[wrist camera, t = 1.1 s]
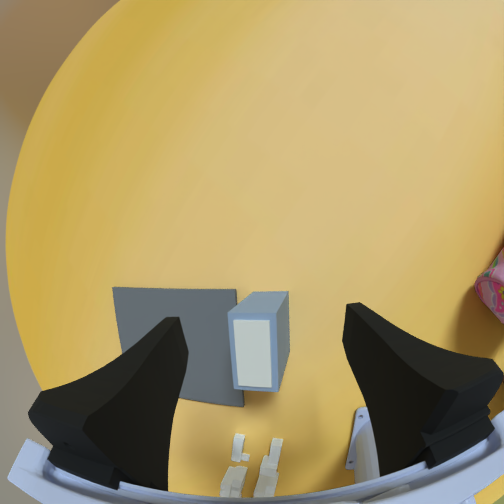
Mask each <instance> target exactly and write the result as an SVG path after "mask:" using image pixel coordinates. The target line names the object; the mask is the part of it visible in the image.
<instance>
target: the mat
mask: <svg viewBox="0 0 504 504" xmlns="http://www.w3.org/2000/svg"><path fill="white" fill-rule="evenodd" d="M112 289H113V297H114V305H115V313H116V320H117V326H118V332H119V338H120V343H121V348H122V354H123V353H124V352H125V351H127V350H128V349H129V348H130V347H132V346H133V345H134V344H135V343H137V342H138V341H139V340H140V339H141V338H142V337H144V336H145V335H146V334H147V333H148V332H149V331H150V330H152V329H153V328H154V327H155V326H156V325H157V324H158V323H159V322H161V321H162V320H163V319H164V318H165V317H179V318H180V322H181V325H182V329H183V333H184V336H185V340H186V344H187V347H188V351H189V355H188V363H187V369H186V374H185V377H184V381H183V384H182V388H181V391H180V395H179V398H184V399H190V400H195V401H201V402H208V403H214V404H222V405H230V406H238V407H244V392H243V390H240V389H234V384H233V374H232V362H231V351H230V338H229V326H228V312H229V311H230V310H231V309H233V308H234V307H235V306H236V305H237V294H236V289H163V288H129V287H112Z"/></svg>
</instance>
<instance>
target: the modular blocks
mask: <svg viewBox="0 0 504 504" xmlns="http://www.w3.org/2000/svg"><path fill="white" fill-rule="evenodd" d="M244 439H245V435H242V434H237V433H236V434H235V436H234V441H233V449H232V457H231V461H235V462H239V463H240V461H241V460H244V461H249V457H250V455H249V454H244V453H242V451H243V445H244ZM282 443H283V439H278V438H273V439H272V443H271V447H270V453H269V456H267V455H264V457H263V460H262V463H261V466H260V473H259V478H258V481H257V484H256V487H255V490H254V495H253V496H254V498H256V497H274V493H275V489H276V485H277V481H278V476H279V473H277V472H276V471H277V467H278V462H279V457H280V452H281V448H282ZM247 468H248V467H243V466H236V468H235V467H231V466H229V468H228V470H227V472H226V474H225V476H224V478H223V480H222V482H221V486H220V488H221V490H220V497H231V498H241V497H242V494H241V491H242V489H243V486H244V483H245V477H246V473H247Z"/></svg>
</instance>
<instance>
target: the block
mask: <svg viewBox="0 0 504 504" xmlns="http://www.w3.org/2000/svg"><path fill="white" fill-rule="evenodd" d="M228 326H229V338H230V351H231V362H232V374H233V384H234V389H240V390H252V391H267V392H278V391H279V388H280V385H281V381H282V378H283V374H284V371H285V367H286V364H287V360H288V356H289V353H290V335H289V295H288V291H272V292H252V293H251V294H250V295H249V296H248V297H246V298H245V299H244V300H243V301H241V302H240V303H239V304H238V305H236V306H235V307H234V308H233V309H231V310H230V311H229V312H228Z"/></svg>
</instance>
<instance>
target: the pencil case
mask: <svg viewBox="0 0 504 504" xmlns="http://www.w3.org/2000/svg"><path fill="white" fill-rule="evenodd" d="M474 286H475V290H476V292H477V294H478V296H479V298H480V299H481V301H482V302H483V303H484V304H485V305H486V306H487V307H489V309H490V310H491V311H492V312H493V313H494V315H495V316H496V317H497V318H498V319H499V320H500V321H501V322H502V323H503V324H504V248H503V249H502V250H501V252H500V253H499V254H498V256H497V257H496V258H495V260H494V261H493V263H492V264H491V265H490V267H489V268H488V270H487V271H485V272H484V273H482V274H481V275H479V276H478V278H477V280H476V281H475V285H474Z"/></svg>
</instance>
